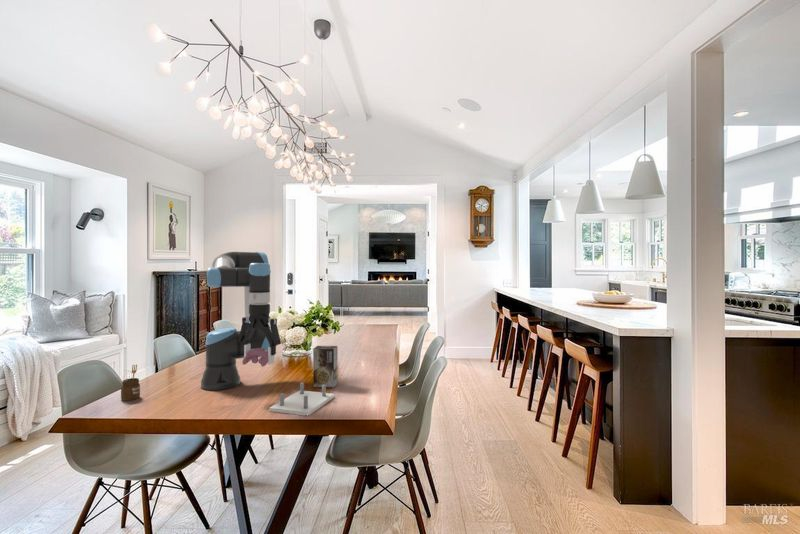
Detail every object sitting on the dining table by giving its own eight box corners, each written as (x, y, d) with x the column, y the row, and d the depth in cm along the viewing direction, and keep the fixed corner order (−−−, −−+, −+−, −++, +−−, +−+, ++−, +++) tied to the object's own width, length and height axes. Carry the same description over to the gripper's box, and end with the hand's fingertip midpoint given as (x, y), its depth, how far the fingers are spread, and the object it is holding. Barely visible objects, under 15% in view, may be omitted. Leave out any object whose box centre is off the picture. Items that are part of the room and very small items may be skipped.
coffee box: (338, 383, 168) (338, 345, 168) (334, 387, 161) (334, 348, 161) (317, 382, 168) (317, 345, 169) (312, 387, 162) (312, 348, 162)
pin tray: (269, 411, 134) (269, 395, 134) (299, 393, 154) (299, 380, 154) (308, 415, 130) (308, 400, 130) (334, 397, 149) (334, 383, 149)
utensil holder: (117, 401, 143) (117, 368, 143) (126, 396, 149) (126, 364, 149) (135, 400, 144) (135, 368, 144) (143, 395, 150) (143, 364, 150)
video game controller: (269, 368, 146) (274, 350, 149) (262, 366, 142) (268, 347, 145) (247, 366, 149) (253, 348, 152) (240, 363, 145) (246, 345, 148)
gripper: (227, 303, 147) (227, 362, 147) (279, 305, 141) (279, 367, 141) (241, 301, 154) (240, 357, 154) (291, 303, 148) (290, 362, 148)
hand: (259, 362), depth 148 cm, fingers closed on video game controller, 10 cm apart
